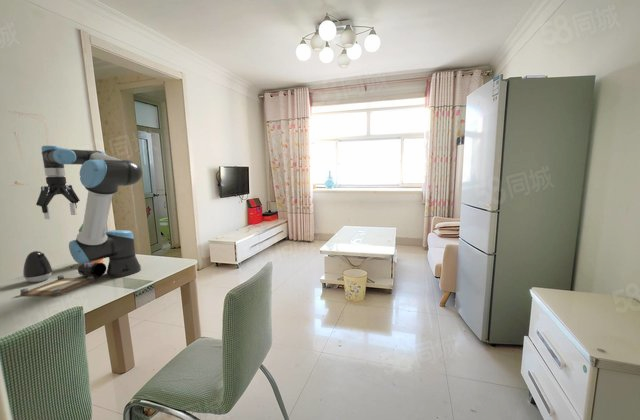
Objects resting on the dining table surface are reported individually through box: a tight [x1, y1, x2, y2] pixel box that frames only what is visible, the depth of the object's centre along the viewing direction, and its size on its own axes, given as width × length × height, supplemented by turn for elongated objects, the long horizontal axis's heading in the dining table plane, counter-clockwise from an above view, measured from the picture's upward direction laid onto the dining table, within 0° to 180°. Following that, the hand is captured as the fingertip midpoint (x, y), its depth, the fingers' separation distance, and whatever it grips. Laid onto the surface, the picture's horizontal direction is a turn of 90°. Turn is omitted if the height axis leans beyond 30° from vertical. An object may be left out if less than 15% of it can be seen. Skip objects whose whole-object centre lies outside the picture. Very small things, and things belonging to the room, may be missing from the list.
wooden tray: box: [19, 274, 95, 297], centre depth 130 cm, size 18×18×2 cm
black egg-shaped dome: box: [22, 250, 53, 283], centre depth 139 cm, size 10×10×15 cm
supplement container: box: [77, 262, 107, 277], centre depth 144 cm, size 7×7×10 cm
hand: (61, 216), depth 146 cm, fingers open, 13 cm apart
